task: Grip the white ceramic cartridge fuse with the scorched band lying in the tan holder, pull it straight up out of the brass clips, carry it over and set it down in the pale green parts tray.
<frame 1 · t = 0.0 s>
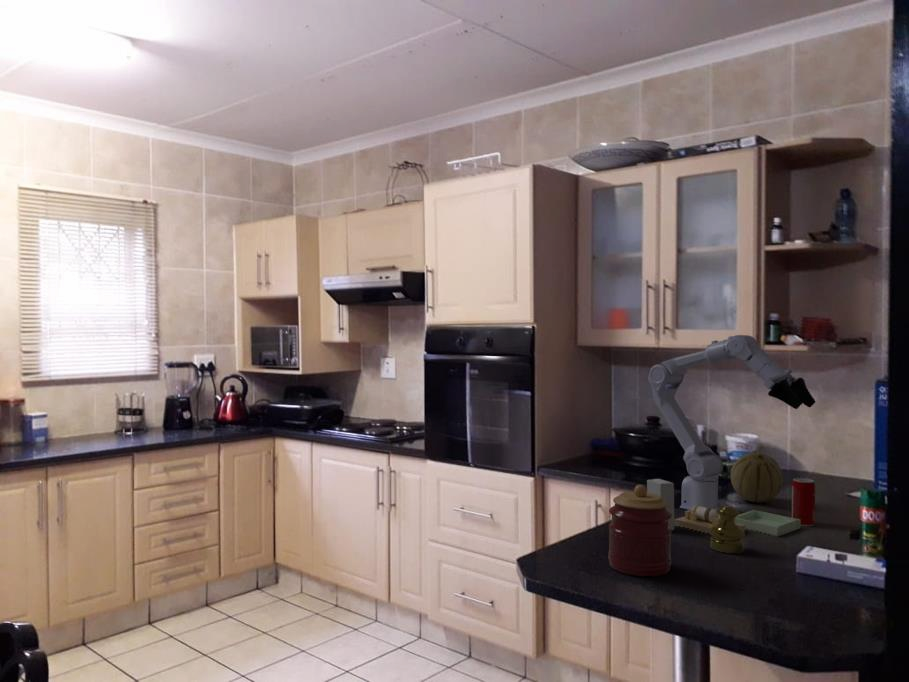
hand: (805, 405, 176), 32 cm above the worktop, tool tilted 50°, fingers open, 7 cm apart
parts tray: (764, 526, 181), on the worktop
soda can: (803, 524, 184), on the worktop
fuse: (709, 521, 179), point 2 cm above the worktop, touching fuse holder
skincare box: (660, 528, 178), on the worktop
fuse holder: (709, 528, 179), on the worktop
canister: (639, 568, 148), on the worktop
ribbed pale melon: (755, 502, 208), on the worktop
gold tiered figurine: (727, 550, 161), on the worktop
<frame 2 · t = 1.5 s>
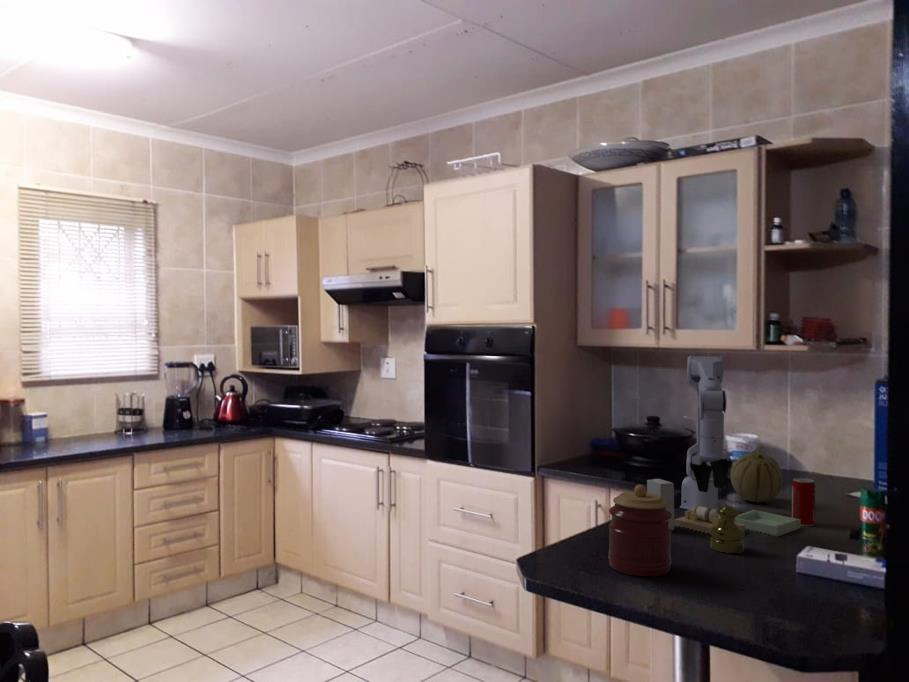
hand: (710, 489, 178), 10 cm above the worktop, tool pointing down, fingers open, 7 cm apart
fuse: (709, 521, 179), point 2 cm above the worktop, tilted 8°, touching fuse holder
everything else where it was.
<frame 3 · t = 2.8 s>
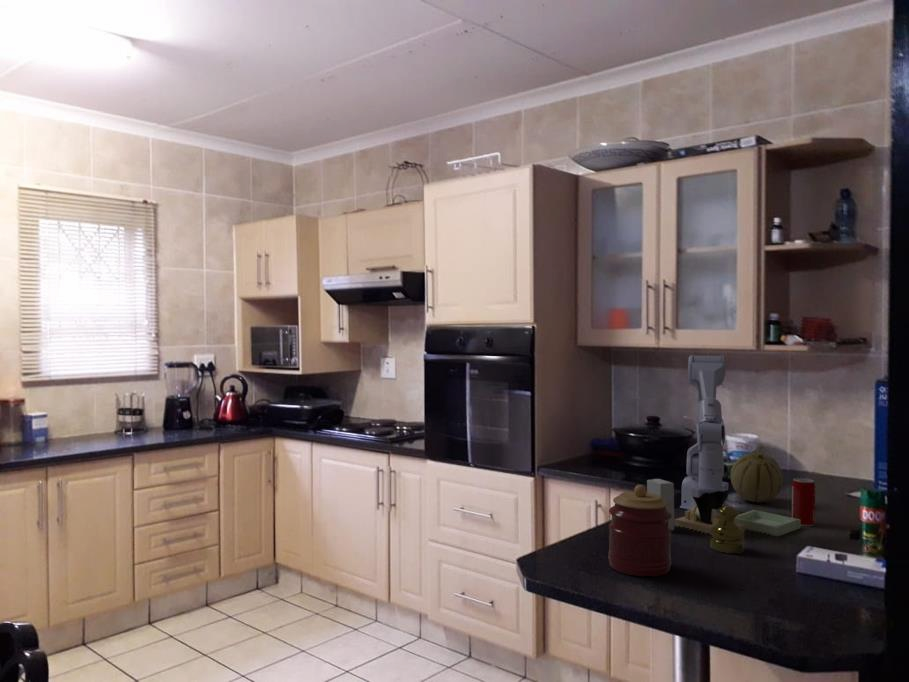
hand: (709, 521, 179), 2 cm above the worktop, tool pointing down, fingers closed on fuse, 3 cm apart
fuse: (709, 521, 179), point 2 cm above the worktop, touching fuse holder, gripper
everything else where it was.
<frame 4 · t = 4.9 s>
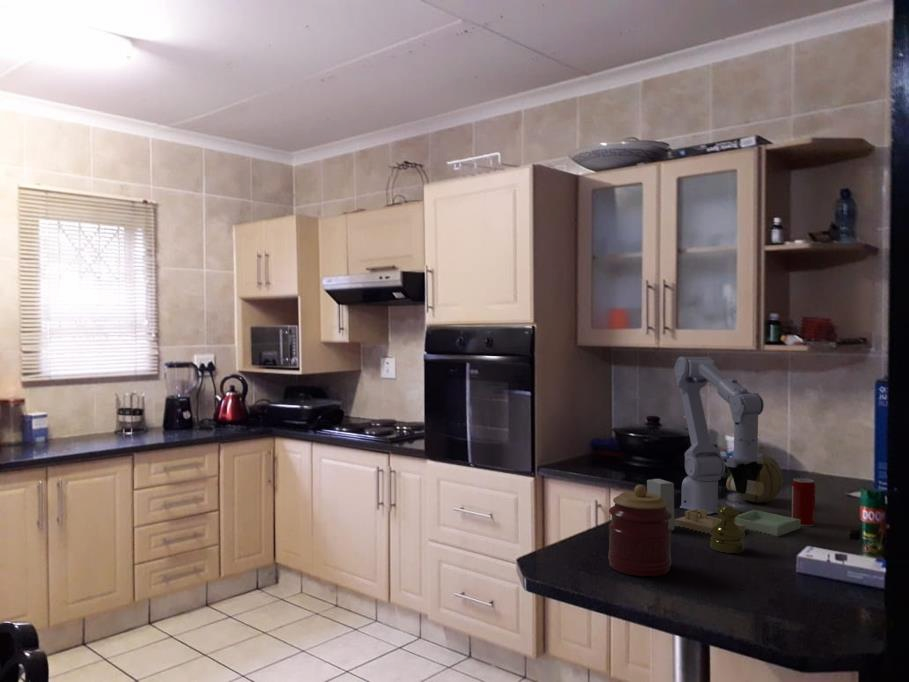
hand: (744, 491, 180), 9 cm above the worktop, tool pointing down, fingers closed on fuse, 3 cm apart
fuse: (744, 492, 180), point 9 cm above the worktop, touching gripper
everything else where it was.
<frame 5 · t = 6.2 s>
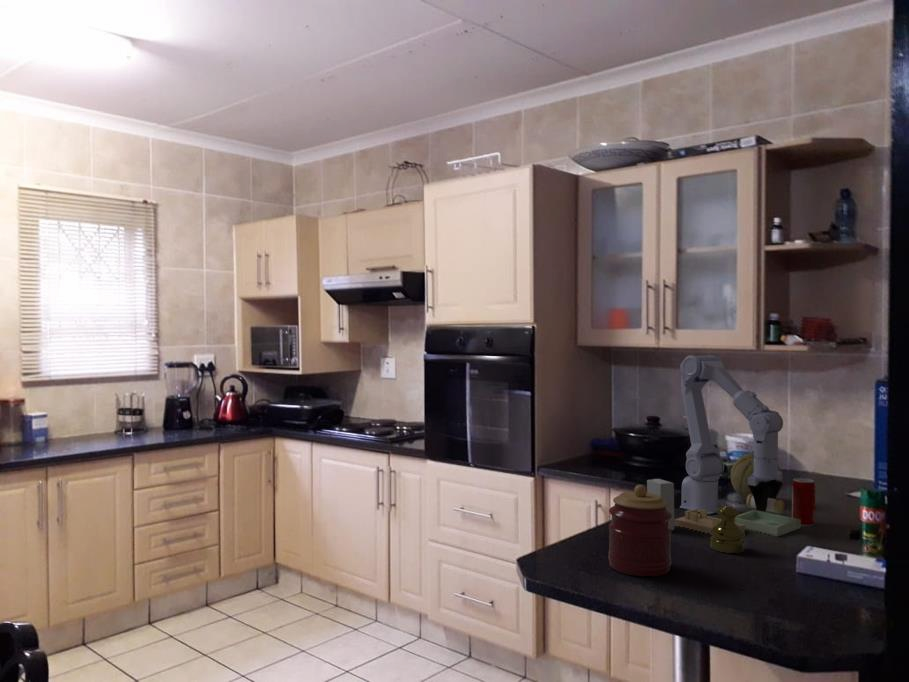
hand: (764, 509, 181), 4 cm above the worktop, tool pointing down, fingers closed on fuse, 3 cm apart
fuse: (765, 510, 181), point 4 cm above the worktop, touching gripper
everything else where it was.
when the fingers open (2 cm above the worktop, at t = 7.1 s): fuse stays where it is, resting on parts tray.
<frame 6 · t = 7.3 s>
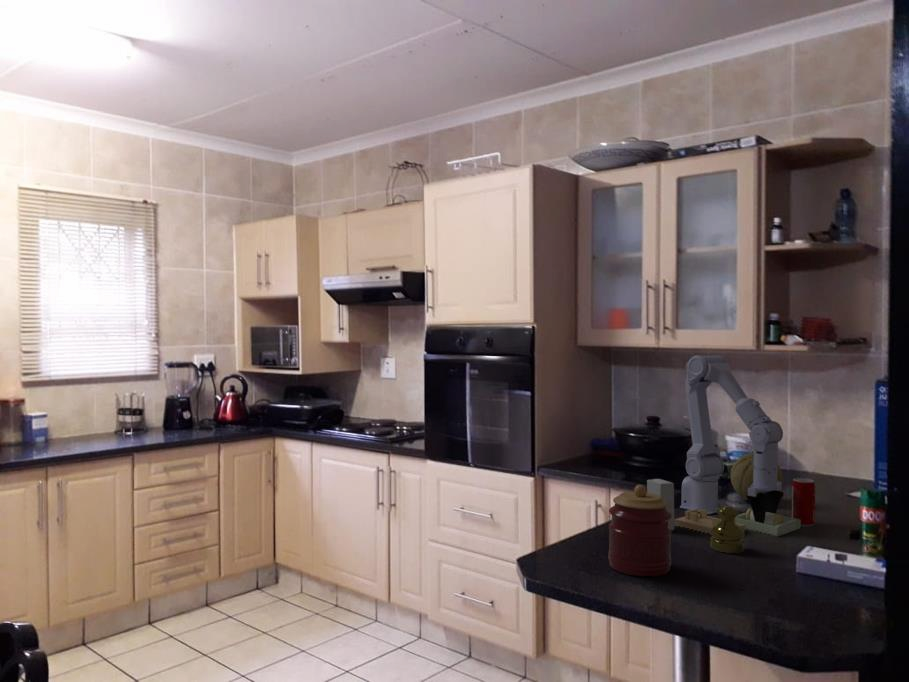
hand: (764, 520, 181), 2 cm above the worktop, tool pointing down, fingers open, 5 cm apart
fuse: (764, 524, 181), point 1 cm above the worktop, touching parts tray
everything else where it was.
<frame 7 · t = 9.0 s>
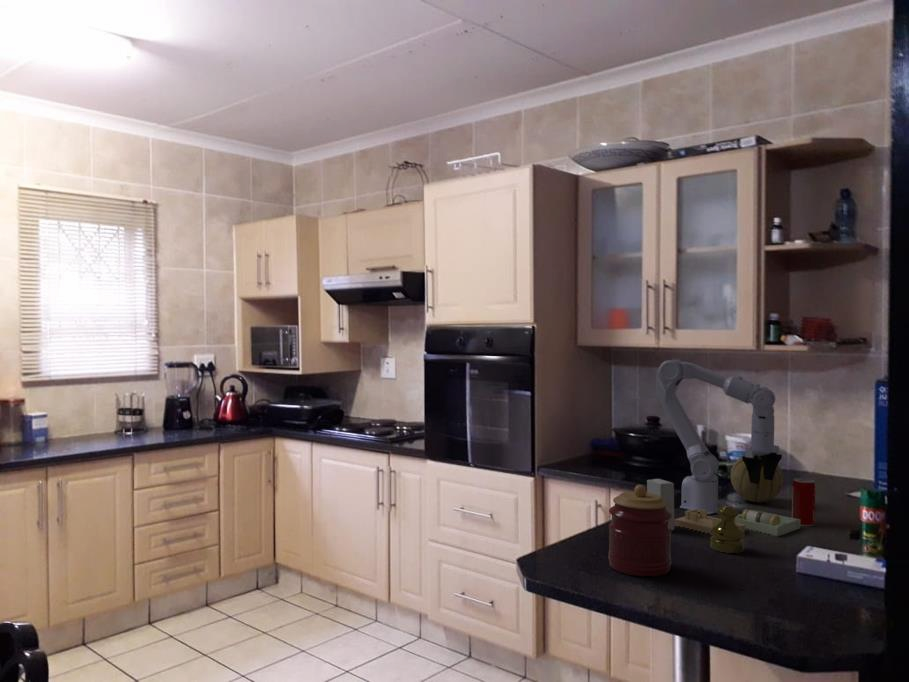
hand: (761, 481, 190), 10 cm above the worktop, tool pointing down, fingers open, 7 cm apart
fuse: (763, 521, 180), point 2 cm above the worktop, tilted 66°, touching parts tray
everything else where it was.
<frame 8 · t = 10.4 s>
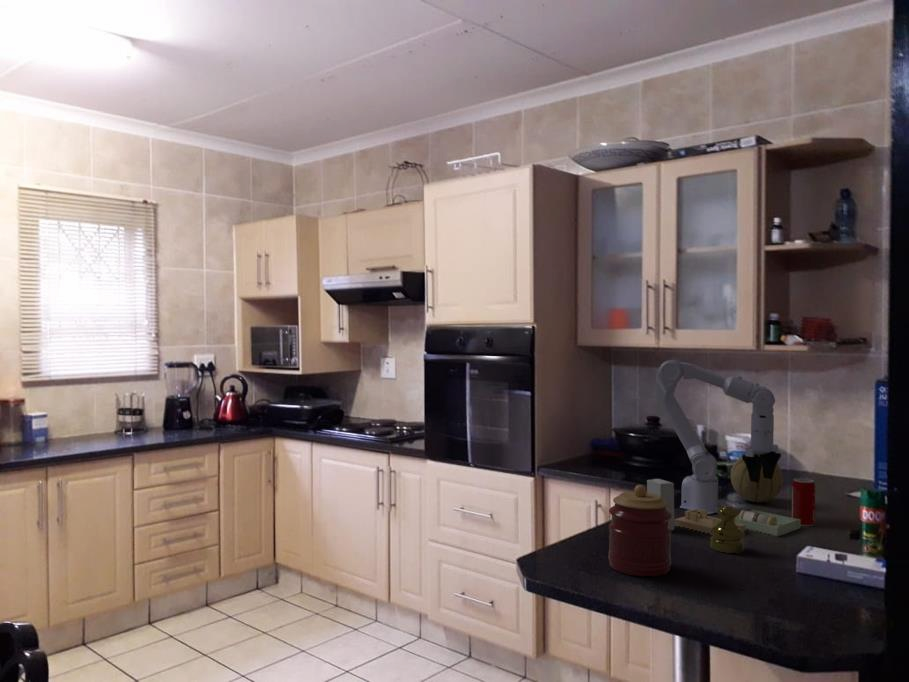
hand: (761, 480, 192), 10 cm above the worktop, tool pointing down, fingers open, 7 cm apart
fuse: (760, 516, 179), point 3 cm above the worktop, tilted 119°, touching parts tray
everything else where it was.
at the end: fuse inside the target area on the parts tray (2.0 cm from its centre), point 3.1 cm above the parts tray's base; fuse touching parts tray; the gripper is holding nothing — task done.
